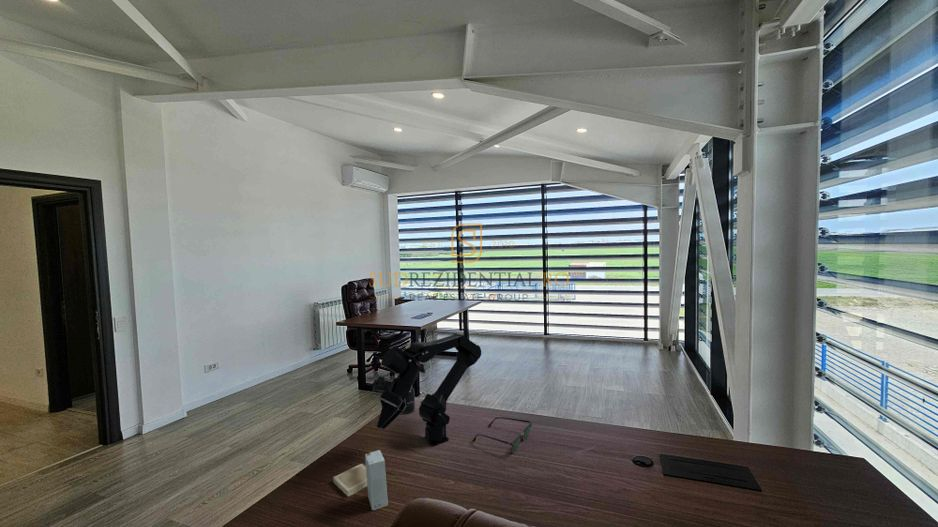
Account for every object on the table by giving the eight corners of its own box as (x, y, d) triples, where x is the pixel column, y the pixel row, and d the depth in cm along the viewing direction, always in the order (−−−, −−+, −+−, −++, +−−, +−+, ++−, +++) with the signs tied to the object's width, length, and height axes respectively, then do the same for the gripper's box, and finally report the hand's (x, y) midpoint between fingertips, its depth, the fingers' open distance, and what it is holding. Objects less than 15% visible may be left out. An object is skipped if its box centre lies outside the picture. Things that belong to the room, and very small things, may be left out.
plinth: (361, 468, 110) (361, 463, 110) (377, 480, 103) (377, 475, 103) (333, 482, 103) (333, 477, 103) (348, 496, 97) (347, 491, 97)
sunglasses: (491, 424, 135) (491, 411, 135) (533, 434, 126) (533, 421, 126) (468, 445, 121) (467, 430, 121) (513, 458, 112) (513, 443, 112)
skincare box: (388, 505, 93) (386, 460, 93) (371, 511, 91) (368, 465, 91) (383, 491, 98) (381, 448, 98) (366, 497, 97) (364, 453, 96)
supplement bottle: (411, 414, 145) (410, 385, 144) (395, 413, 146) (394, 385, 146) (417, 407, 151) (416, 379, 151) (402, 406, 153) (401, 378, 152)
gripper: (387, 373, 124) (362, 418, 118) (379, 363, 108) (350, 414, 101) (415, 387, 123) (392, 433, 116) (412, 379, 106) (385, 432, 100)
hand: (380, 428), depth 108 cm, fingers open, 9 cm apart
